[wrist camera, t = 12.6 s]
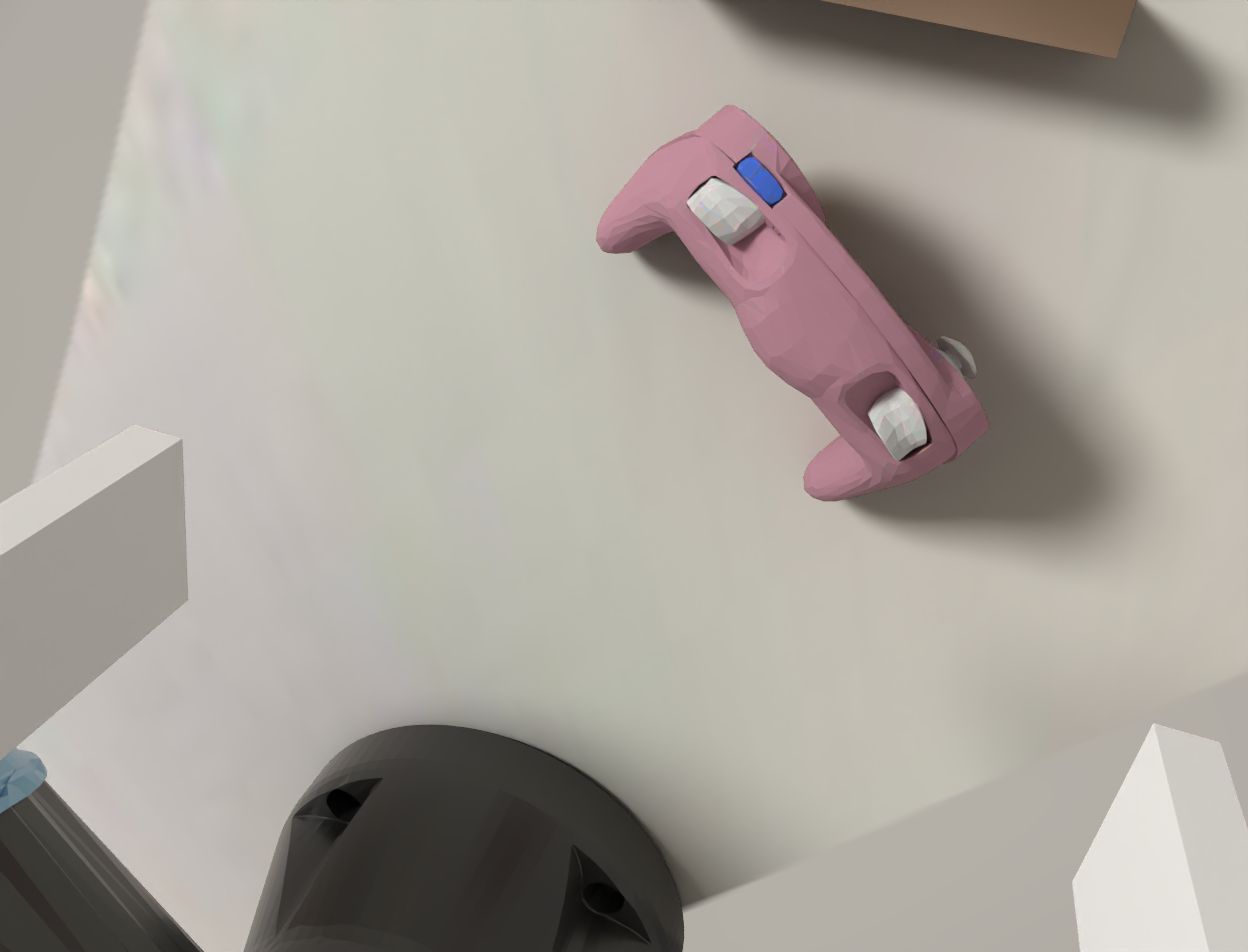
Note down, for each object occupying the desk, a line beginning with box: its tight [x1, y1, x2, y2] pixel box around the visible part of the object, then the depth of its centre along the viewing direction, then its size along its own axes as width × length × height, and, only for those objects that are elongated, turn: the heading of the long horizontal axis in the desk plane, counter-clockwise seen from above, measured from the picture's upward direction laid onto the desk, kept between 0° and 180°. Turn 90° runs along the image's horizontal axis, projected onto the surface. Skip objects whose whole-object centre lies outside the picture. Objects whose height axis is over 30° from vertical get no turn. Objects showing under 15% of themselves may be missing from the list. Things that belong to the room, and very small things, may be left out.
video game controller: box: [596, 105, 989, 501], centre depth 26 cm, size 10×5×7 cm, turn 41°
